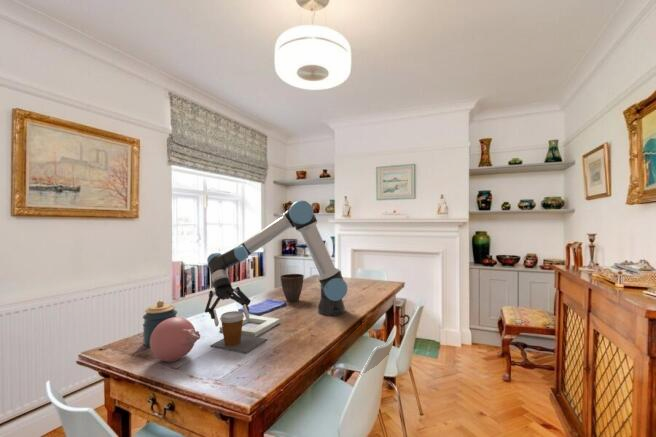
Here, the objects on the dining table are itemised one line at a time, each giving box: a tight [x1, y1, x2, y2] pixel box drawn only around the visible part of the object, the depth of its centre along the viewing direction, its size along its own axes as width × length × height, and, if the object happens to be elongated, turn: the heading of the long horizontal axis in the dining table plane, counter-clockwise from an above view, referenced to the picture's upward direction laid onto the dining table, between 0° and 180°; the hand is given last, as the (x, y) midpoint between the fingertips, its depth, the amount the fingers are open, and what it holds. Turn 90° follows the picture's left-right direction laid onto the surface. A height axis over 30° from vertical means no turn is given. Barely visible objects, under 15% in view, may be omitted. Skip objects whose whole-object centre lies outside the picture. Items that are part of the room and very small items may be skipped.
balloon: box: [149, 316, 201, 362], centre depth 114 cm, size 15×20×15 cm
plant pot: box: [279, 273, 305, 303], centre depth 195 cm, size 15×15×16 cm
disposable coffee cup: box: [219, 310, 245, 346], centre depth 127 cm, size 10×10×12 cm
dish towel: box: [237, 299, 287, 316], centre depth 180 cm, size 17×24×3 cm
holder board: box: [219, 314, 280, 337], centre depth 148 cm, size 20×20×2 cm
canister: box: [142, 300, 178, 348], centre depth 132 cm, size 13×13×18 cm
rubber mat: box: [210, 335, 268, 354], centre depth 129 cm, size 18×14×1 cm
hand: (233, 321), depth 134 cm, fingers open, 13 cm apart
